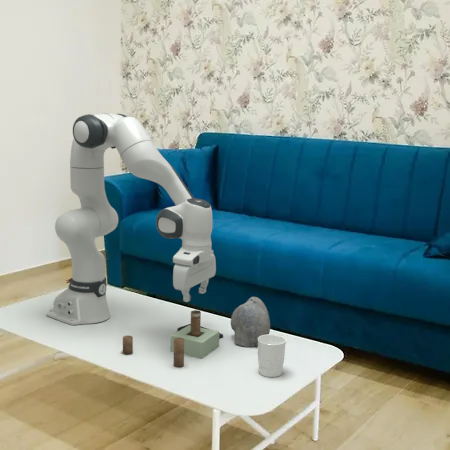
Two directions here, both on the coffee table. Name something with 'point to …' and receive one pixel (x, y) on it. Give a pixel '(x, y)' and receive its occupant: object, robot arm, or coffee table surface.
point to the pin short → (127, 345)
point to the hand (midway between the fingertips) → (194, 297)
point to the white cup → (271, 355)
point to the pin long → (195, 323)
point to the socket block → (197, 341)
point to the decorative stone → (250, 322)
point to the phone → (201, 327)
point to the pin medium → (178, 352)
